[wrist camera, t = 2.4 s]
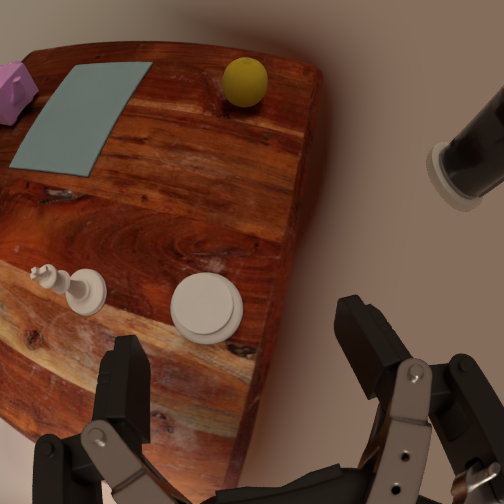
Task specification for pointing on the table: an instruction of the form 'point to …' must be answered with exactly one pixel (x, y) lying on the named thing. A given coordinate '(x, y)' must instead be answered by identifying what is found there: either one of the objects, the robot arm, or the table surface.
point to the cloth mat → (79, 118)
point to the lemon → (244, 82)
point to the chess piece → (74, 287)
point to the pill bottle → (206, 308)
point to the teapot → (14, 91)
